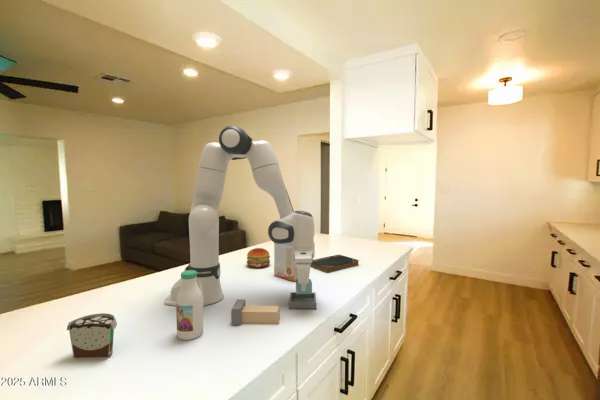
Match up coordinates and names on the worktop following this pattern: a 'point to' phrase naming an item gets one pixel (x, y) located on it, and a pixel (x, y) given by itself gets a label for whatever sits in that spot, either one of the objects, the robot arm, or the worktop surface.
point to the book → (333, 263)
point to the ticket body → (254, 313)
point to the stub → (308, 288)
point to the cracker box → (284, 262)
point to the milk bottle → (189, 307)
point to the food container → (92, 336)
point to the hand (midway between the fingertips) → (303, 287)
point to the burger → (258, 258)
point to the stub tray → (302, 301)
